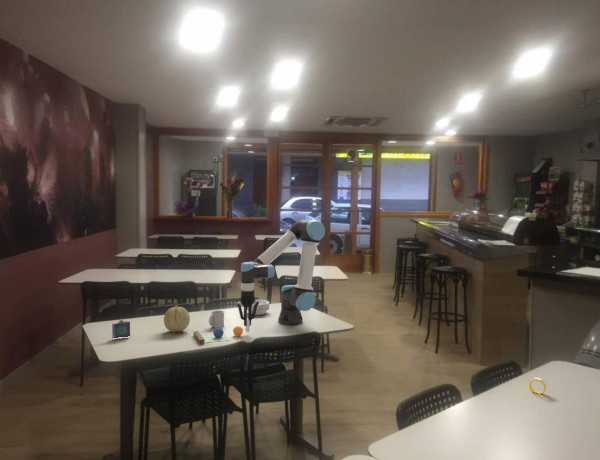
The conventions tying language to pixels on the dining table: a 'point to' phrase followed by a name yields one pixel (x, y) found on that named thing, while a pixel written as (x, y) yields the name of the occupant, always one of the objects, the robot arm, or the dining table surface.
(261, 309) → the paper bowls
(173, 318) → the cantaloupe
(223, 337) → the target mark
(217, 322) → the cup
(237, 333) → the orange ball
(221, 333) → the navy ball
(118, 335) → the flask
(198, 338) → the backstop rail
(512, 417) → the dining table surface
